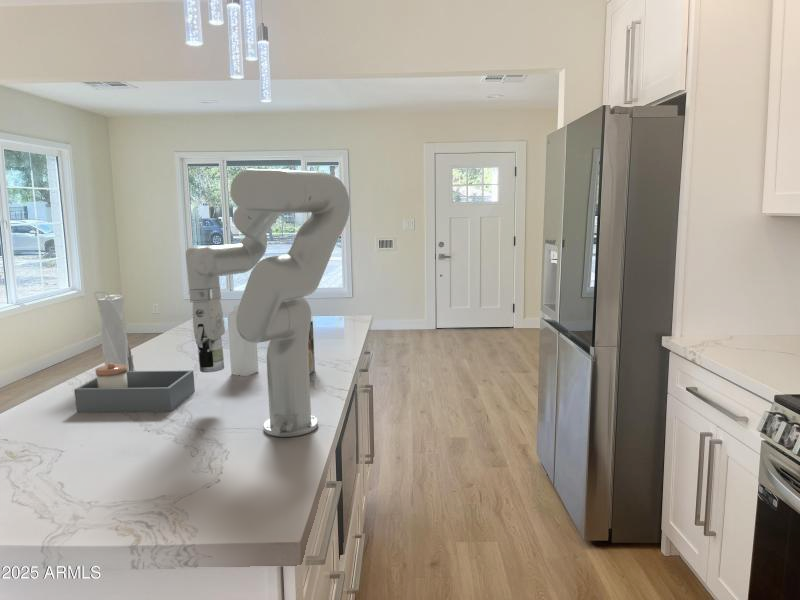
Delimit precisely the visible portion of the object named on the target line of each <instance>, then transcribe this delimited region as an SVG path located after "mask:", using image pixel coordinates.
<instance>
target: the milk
mask: <svg viewBox="0 0 800 600" xmlns="http://www.w3.org/2000/svg"><path fill="white" fill-rule="evenodd" d="M238 307H239V304H236V305H233V311H231V312H230V313H229V314H227V328H228V329H227V331H228V332H227V333H228V341H229V342H228V344H229V359H230V360H229V361H230V373H231V375H232V374H233V376H239V375H240V376H241V377H247V376H250V374H251V375H253V374H255V373H259V358H258V355H259V354H258V343H251V342H248V341H246V340H244V339H243V338H242V337H241V336H240V334H239V332H238V330H237V325H236V316H237V311H238Z"/></svg>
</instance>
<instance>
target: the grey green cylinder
mask: <svg viewBox="0 0 800 600" xmlns="http://www.w3.org/2000/svg"><path fill="white" fill-rule="evenodd" d="M204 339H208V338H204ZM222 339H223V338H222V336H221V337H219V338H217V339H216V340H211V351H212V354H213V364H214V366H213V367H204V368H202V367H200V357H199V352H198V351H197V355H198V364H199V372H200V373H216V372H219V371H220V372H221V371H223V370H224V369H225V362H224V361H225V360H224V350H223V347H224V346H223V342H222V341H223V340H222ZM204 343H206V345H207V342H204Z"/></svg>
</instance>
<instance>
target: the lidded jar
mask: <svg viewBox="0 0 800 600" xmlns="http://www.w3.org/2000/svg"><path fill="white" fill-rule="evenodd" d="M94 372H95V376H96V377H97V382H98V388H128V383H127V366H126V365H123V364H113V363H109V364H108V365H106V366H105V365H103V366H99V367H97V368H95V371H94Z"/></svg>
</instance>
